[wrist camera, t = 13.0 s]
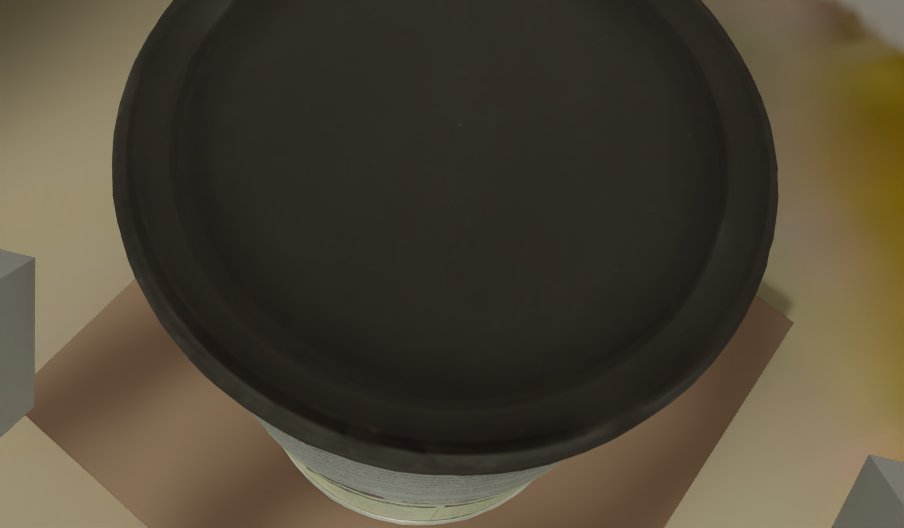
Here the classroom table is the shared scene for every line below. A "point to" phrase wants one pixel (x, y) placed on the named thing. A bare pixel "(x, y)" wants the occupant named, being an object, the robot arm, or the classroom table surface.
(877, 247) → the classroom table surface
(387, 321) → the coffee can
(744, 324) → the walnut board
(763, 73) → the classroom table surface
